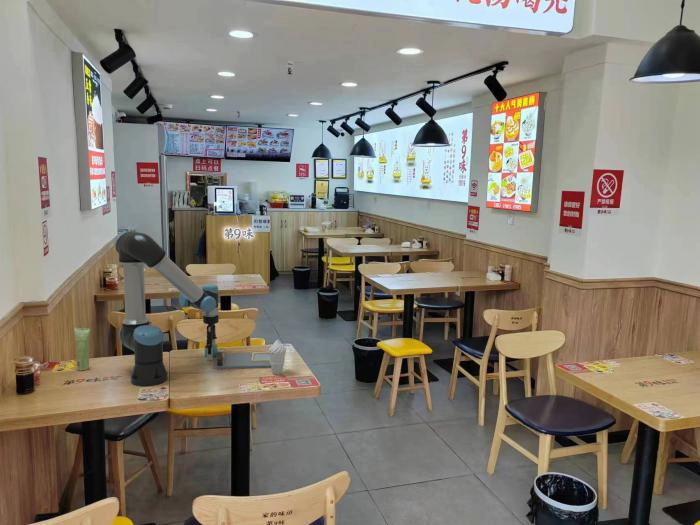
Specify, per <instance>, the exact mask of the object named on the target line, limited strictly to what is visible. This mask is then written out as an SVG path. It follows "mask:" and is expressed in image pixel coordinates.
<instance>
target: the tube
mask: <svg viewBox="0 0 700 525" xmlns="http://www.w3.org/2000/svg"><path fill="white" fill-rule="evenodd" d="M73 329H74V330H73V331H74V338H75V340H74V341H75V350H76V352H75V353H76V369H77V371H87V370H89V369H90V336H91V328H86V327H85V328H82V327H74V328H73Z"/></svg>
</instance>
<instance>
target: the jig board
mask: <svg viewBox="0 0 700 525" xmlns="http://www.w3.org/2000/svg"><path fill="white" fill-rule="evenodd" d="M269 355H270V354H269V351H263V352H262V351H258V352H257V351H256V352H255V351H254V352H242V353H241V352H239V353H238V352H237V353H236V352H235V353H232V352H231V353H225V358H224V362H223V365H217V361H216V362H215V365H214V369H215V370H230V369H231V370H232V369H233V370H236V369H238V370H239V369H240V370H241V369H272V368H271V363H270V356H269Z"/></svg>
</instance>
